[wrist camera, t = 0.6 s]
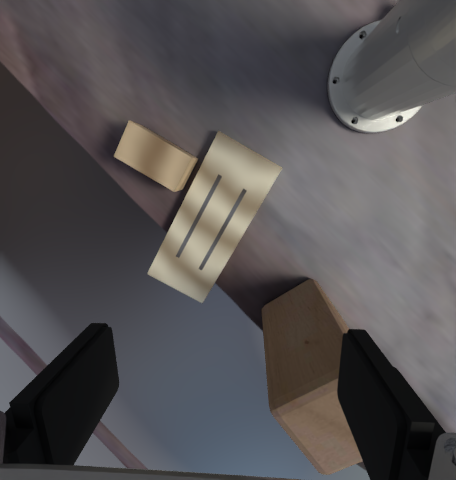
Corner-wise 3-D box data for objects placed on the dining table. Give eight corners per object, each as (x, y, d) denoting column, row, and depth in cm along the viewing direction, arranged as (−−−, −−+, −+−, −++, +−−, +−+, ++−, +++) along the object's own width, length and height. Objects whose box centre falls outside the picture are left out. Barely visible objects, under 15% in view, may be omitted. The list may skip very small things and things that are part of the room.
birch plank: (219, 132, 37) (218, 130, 36) (281, 167, 38) (282, 167, 37) (150, 270, 44) (146, 273, 42) (204, 299, 44) (202, 303, 43)
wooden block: (311, 274, 42) (364, 365, 22) (344, 321, 43) (420, 444, 24) (258, 305, 44) (265, 413, 25) (291, 350, 46) (322, 483, 26)
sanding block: (130, 157, 40) (113, 156, 35) (144, 126, 38) (129, 120, 33) (183, 189, 40) (174, 192, 35) (199, 158, 39) (191, 157, 34)
